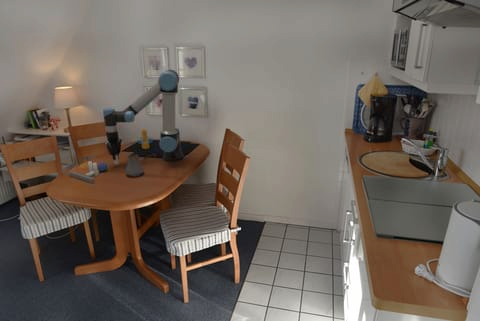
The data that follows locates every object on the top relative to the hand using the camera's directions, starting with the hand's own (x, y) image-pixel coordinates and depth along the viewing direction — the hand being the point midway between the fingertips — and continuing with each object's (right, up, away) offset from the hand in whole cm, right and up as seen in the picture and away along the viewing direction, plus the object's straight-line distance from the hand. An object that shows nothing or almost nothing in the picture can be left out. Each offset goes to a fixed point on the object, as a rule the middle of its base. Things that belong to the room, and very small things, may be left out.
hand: (116, 163), depth 236 cm
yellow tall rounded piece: (+9, +12, +41) cm, 44 cm away
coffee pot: (+23, -7, -15) cm, 28 cm away
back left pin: (-8, -8, -15) cm, 19 cm away
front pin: (-8, -5, -12) cm, 15 cm away
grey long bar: (-14, -10, -21) cm, 27 cm away
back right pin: (-12, -7, -13) cm, 19 cm away
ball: (-6, -2, -9) cm, 11 cm away
